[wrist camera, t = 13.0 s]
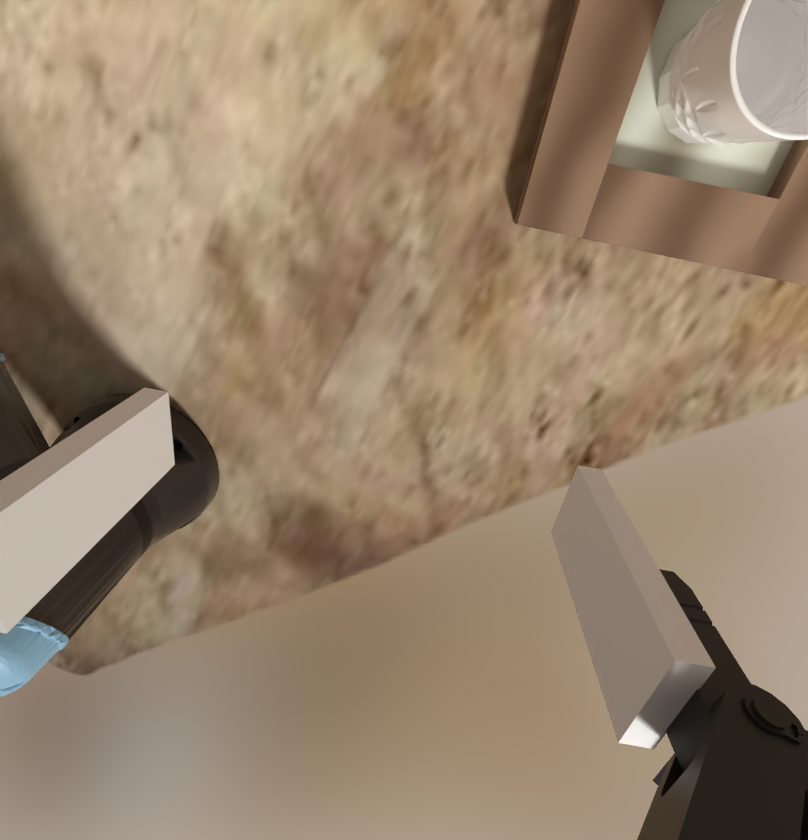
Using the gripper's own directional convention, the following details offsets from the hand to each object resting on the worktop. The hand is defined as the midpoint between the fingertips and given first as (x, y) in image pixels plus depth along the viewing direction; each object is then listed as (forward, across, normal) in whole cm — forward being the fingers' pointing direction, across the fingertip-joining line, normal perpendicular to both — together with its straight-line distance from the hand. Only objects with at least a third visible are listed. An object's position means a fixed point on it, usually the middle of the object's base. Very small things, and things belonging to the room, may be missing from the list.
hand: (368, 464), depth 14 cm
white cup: (+23, +16, +17) cm, 33 cm away
